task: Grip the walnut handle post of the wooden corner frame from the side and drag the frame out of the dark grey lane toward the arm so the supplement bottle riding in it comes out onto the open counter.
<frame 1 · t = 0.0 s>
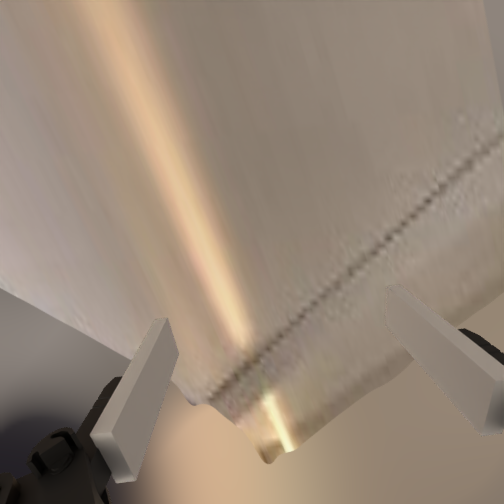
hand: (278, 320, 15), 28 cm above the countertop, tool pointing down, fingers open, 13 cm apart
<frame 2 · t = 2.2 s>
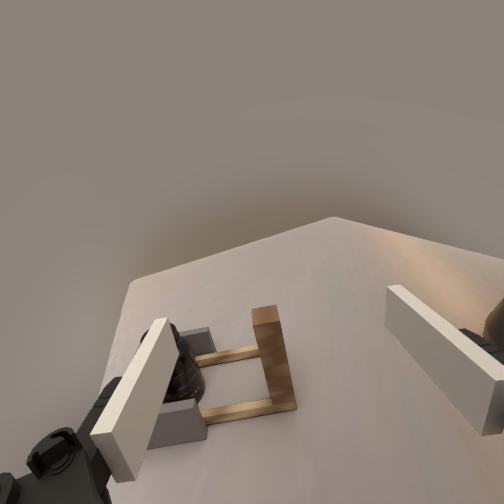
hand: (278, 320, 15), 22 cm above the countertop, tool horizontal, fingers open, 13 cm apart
wooden corner frame: (207, 350, 35), point 7 cm above the countertop, slide at 0.0 cm
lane: (175, 395, 38), on the countertop
supplement bottle: (184, 394, 38), resting in wooden corner frame
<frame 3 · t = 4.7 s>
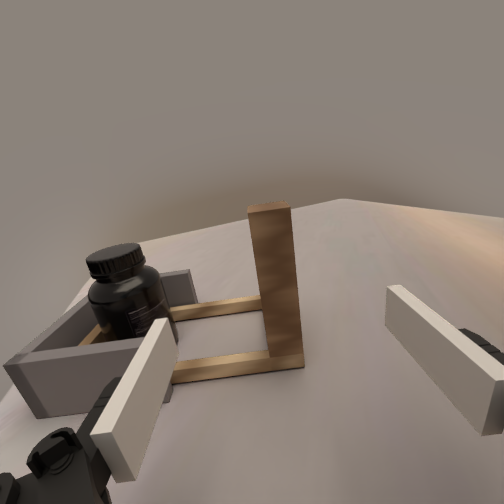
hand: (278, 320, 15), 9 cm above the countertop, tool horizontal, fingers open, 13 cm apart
wooden corner frame: (183, 283, 25), point 7 cm above the countertop, slide at 0.0 cm
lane: (137, 350, 28), on the countertop
supplement bottle: (149, 350, 28), resting in wooden corner frame
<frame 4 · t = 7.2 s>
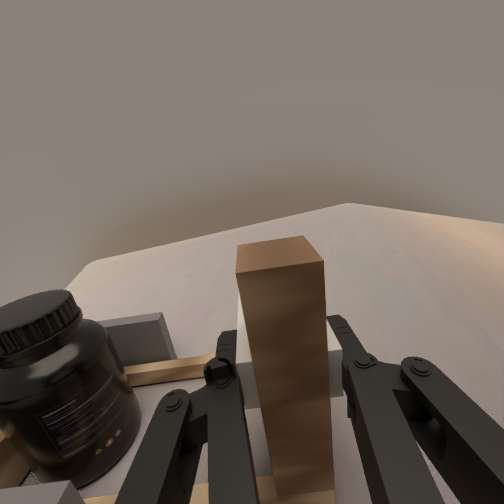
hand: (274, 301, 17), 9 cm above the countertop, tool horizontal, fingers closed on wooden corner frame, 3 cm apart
wooden corner frame: (140, 353, 16), point 7 cm above the countertop, slide at 0.0 cm, touching gripper
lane: (79, 442, 19), on the countertop
supplement bottle: (97, 441, 19), resting in wooden corner frame
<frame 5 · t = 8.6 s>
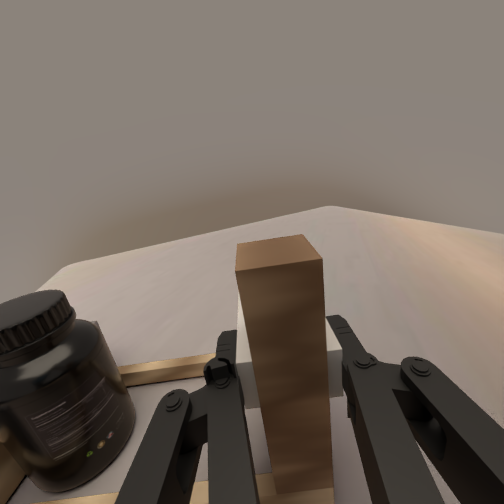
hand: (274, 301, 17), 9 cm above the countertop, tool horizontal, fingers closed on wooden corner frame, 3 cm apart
wooden corner frame: (140, 352, 16), point 7 cm above the countertop, slide at 6.4 cm, touching gripper, supplement bottle
supplement bottle: (91, 442, 19), resting in wooden corner frame
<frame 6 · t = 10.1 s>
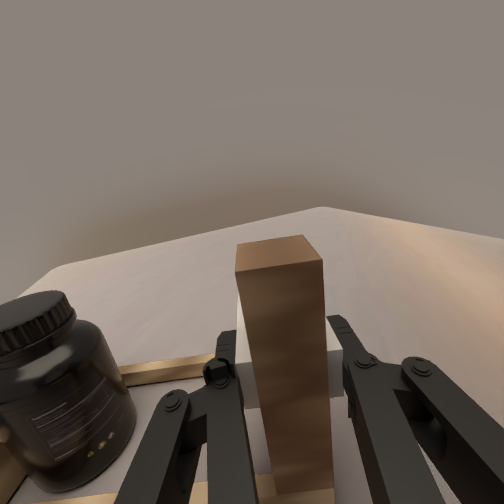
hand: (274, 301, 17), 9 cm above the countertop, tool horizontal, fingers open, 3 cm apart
wooden corner frame: (140, 352, 16), point 7 cm above the countertop, slide at 9.4 cm
supplement bottle: (92, 442, 19), resting in wooden corner frame
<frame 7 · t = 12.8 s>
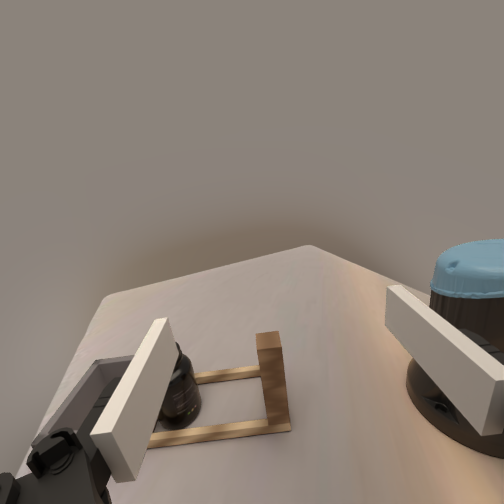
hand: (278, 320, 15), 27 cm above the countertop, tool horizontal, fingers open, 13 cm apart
wooden corner frame: (210, 369, 37), point 7 cm above the countertop, slide at 9.4 cm
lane: (118, 417, 40), on the countertop
supplement bottle: (181, 411, 40), resting in wooden corner frame
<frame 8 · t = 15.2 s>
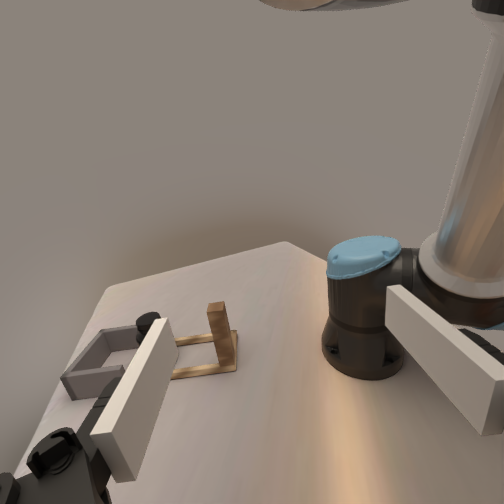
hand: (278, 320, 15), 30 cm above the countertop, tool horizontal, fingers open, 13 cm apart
wooden corner frame: (181, 331, 53), point 7 cm above the countertop, slide at 9.4 cm
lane: (118, 368, 56), on the countertop
supplement bottle: (163, 363, 55), resting in wooden corner frame
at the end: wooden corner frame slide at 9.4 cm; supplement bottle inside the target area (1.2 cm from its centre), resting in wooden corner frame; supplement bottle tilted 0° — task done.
